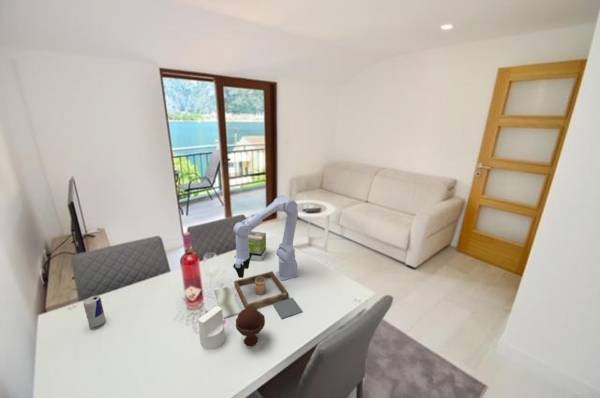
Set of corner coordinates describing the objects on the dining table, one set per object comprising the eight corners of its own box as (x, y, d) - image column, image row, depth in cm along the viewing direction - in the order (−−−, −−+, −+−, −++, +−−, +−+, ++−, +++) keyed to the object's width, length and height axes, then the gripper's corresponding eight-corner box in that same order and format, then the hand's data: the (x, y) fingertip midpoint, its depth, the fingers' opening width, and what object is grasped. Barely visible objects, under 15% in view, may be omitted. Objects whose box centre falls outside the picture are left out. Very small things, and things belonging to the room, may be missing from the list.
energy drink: (109, 321, 108) (103, 297, 105) (95, 331, 104) (89, 305, 100) (100, 318, 110) (93, 293, 106) (86, 327, 105) (79, 302, 102)
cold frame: (272, 276, 142) (272, 271, 141) (288, 298, 125) (288, 293, 124) (214, 291, 128) (214, 286, 128) (223, 319, 111) (223, 313, 110)
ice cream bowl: (270, 335, 104) (270, 303, 99) (254, 357, 94) (253, 323, 90) (248, 326, 108) (247, 295, 104) (230, 346, 98) (228, 313, 94)
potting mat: (292, 298, 125) (292, 297, 125) (302, 312, 117) (302, 311, 116) (272, 304, 120) (272, 303, 120) (281, 319, 112) (281, 318, 112)
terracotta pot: (263, 287, 132) (263, 275, 130) (267, 293, 128) (267, 281, 126) (253, 290, 130) (253, 278, 128) (257, 296, 126) (256, 284, 123)
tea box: (237, 259, 158) (236, 236, 153) (243, 251, 167) (242, 229, 163) (261, 261, 156) (261, 239, 151) (266, 253, 165) (266, 231, 161)
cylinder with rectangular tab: (211, 353, 95) (208, 326, 92) (195, 342, 100) (192, 316, 96) (229, 336, 103) (228, 311, 99) (214, 327, 107) (211, 302, 104)
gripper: (239, 239, 130) (240, 264, 134) (228, 254, 117) (230, 280, 121) (253, 240, 129) (254, 265, 134) (243, 255, 116) (244, 282, 120)
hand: (243, 272), depth 127 cm, fingers open, 7 cm apart
